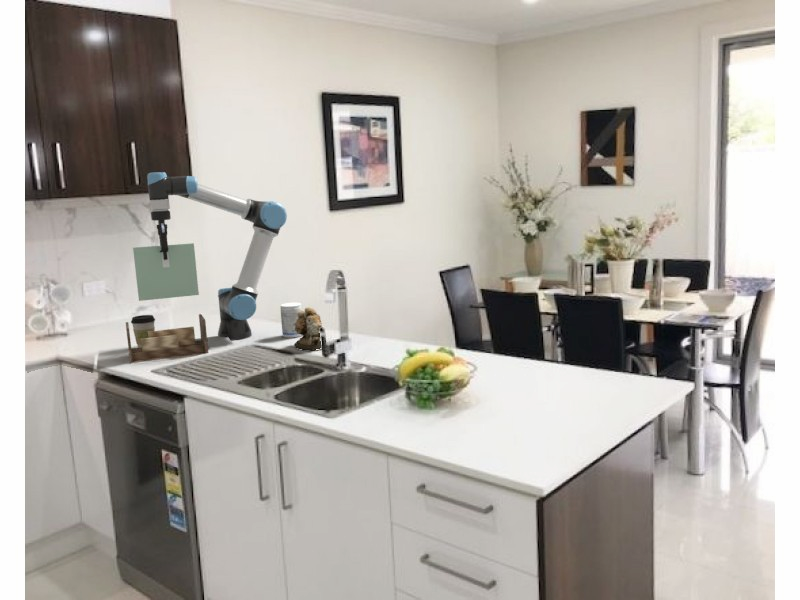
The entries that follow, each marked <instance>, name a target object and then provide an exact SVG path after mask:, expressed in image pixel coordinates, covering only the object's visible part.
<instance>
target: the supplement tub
mask: <svg viewBox="0 0 800 600" xmlns="http://www.w3.org/2000/svg"><path fill="white" fill-rule="evenodd" d="M279 310H280V319H281V331H282V337H283V338H286V337H287V338H292V339H294V337H295V338H299V337H300V338H301V337H303V335H301V334H298V333H297V332H296V330H295V323H296V322H297V321H296V320H297V319H298V316H297V313H298V312H300V311H303V309H302V304H301V302H286V303H282V304H280V309H279Z"/></svg>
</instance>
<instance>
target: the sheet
mask: <svg viewBox="0 0 800 600" xmlns="http://www.w3.org/2000/svg"><path fill="white" fill-rule="evenodd" d="M132 250H133V258H134V268H135V278H136V285H137V294H138V297H137V298H138V301H139V302H141V301H151V300H152V301H153V300H163V299H171V298H180V297H182V298H183V297H190V296H191V297H193V296H199V295H200V292H199V284H198V283H199V281H198V273H197V264H196V263H197V260H196V252H195V243H194V242H193V243H179V244H178V243H177V244H168V255H169V264H170V267H167V268H163V264H162V254H161V252H160V251H161V246H160V245H151V246H139V247H138V246H137V247H132Z"/></svg>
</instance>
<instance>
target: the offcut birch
mask: <svg viewBox="0 0 800 600" xmlns="http://www.w3.org/2000/svg"><path fill="white" fill-rule="evenodd" d="M141 344H142V352H144V351H152V350H160V349H168V348H176V347H179V346H178V336H177V335H169V336H161V337H152V338H144V339H141Z"/></svg>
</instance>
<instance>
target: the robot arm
mask: <svg viewBox="0 0 800 600" xmlns="http://www.w3.org/2000/svg"><path fill="white" fill-rule="evenodd" d="M146 178H147V189H148V198H149V202H148V206H150V210H151V212H150V218H151V219H150V220H151V221H152V222H153V221H157V224H156V230H157V235H158V237H159V238H158V239H159V246H161V251H160V252H161V254H162V264H163V268H167V267H170V264H169V255H168V245H169V244H168V224H167V223H166V221H168V220H171V217H172V216H171V211H170V209H171V207H170V197H169V196H179V197H181V198H185V199H188V200H191V201H194V202H198V203H200V204H204V205H206V206H210V207H213V208H215V209H219V210H221V211H226V212H227V213H231V214H234V215H237V216H240V217H241V219H243V220H244V221H248V222H251V223H253V224H252V229H253V231H254V233H253V236H252V238H251V240H250V244H249V248H248V250H247V253H246V256H245V257H244V258H245V259H244V262H243V264H242V267H241V271H240V273H239V276H238V280H237V282H236V283H234V284H233V285H232V287H224V288H219V289H218V291H217V293H218V294H217V297H218V307H219V316H220V317H219V319H220V323H219V328H218V331H217V336H218V337H221V338H228V339H229V340H230V341H231V340H232V341H234V340H241V339H246V338H249V337H251V336H252V329H251V326H250V324H249V322H248V319H250V318H252V317H253V316H254V314H255V313H256V310H257V301H256V300H257V298H258V295H259V292H258V291H257V288H258V284H259V281H260V279H261V275H262V274H263V273H262V272H263V271H264V270H263V269H264V266H265V263H266V261H267V258H268V255H269V252H270V249H271V245H272V243H273V240H274V238H275V237H278V236H279V233H280V230H281V228H282V227H283V226H284V225H285V224H286V222H287V218H288V215H287V211H286V208H285V207H284V206H283V205H282V204H281V203H279V202H277V201H272V200H271V201H263V200H262V201H258V200H254V199H251V198H246V199H244V198H241V197H238V196H235V195H232V194H229V193H226V192H223V191H221V190H217V189H214V188H211V187H208V186H206V185H203V184H199V183H198V179H197V177H196V176H191V175H182V176H168V175H167V173H166V172H164V171H163V172H158V171H157V172H155V171H154V172H149V173H147V176H146Z"/></svg>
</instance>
